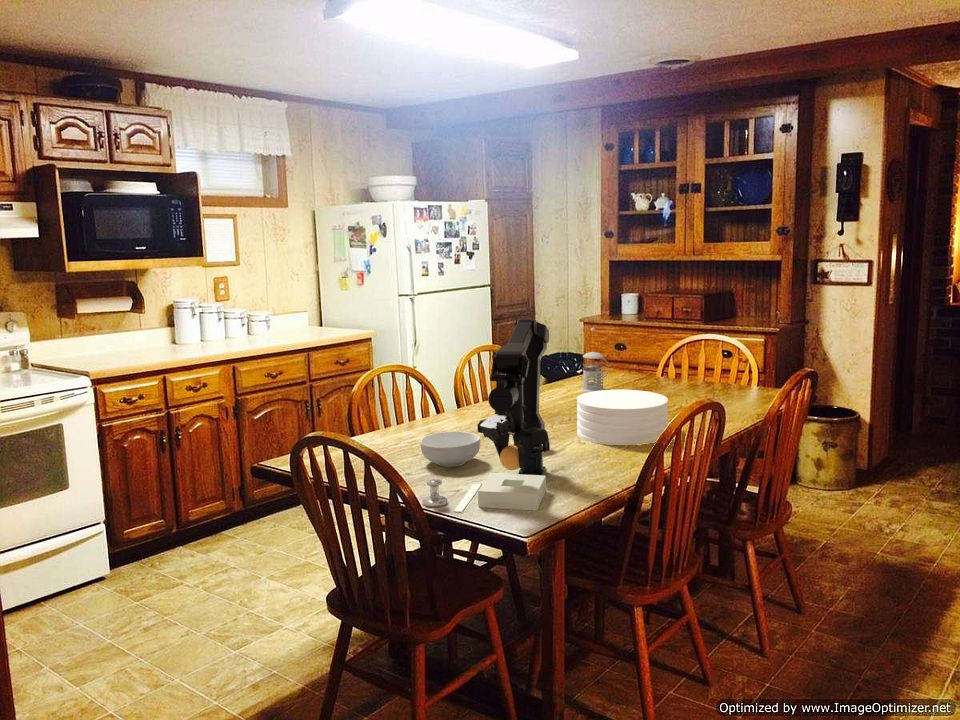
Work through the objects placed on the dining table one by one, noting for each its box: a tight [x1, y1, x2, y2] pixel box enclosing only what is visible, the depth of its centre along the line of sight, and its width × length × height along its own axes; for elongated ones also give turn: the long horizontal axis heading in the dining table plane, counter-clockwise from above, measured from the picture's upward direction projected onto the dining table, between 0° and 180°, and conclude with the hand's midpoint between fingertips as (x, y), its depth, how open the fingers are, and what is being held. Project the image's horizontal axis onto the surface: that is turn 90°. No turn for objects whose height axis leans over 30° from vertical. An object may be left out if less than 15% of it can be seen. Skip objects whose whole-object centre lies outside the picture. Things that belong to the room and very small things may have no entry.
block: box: [477, 472, 547, 511], centre depth 195 cm, size 14×14×4 cm
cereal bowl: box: [420, 431, 481, 468], centre depth 226 cm, size 17×17×7 cm
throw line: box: [453, 483, 482, 513], centre depth 197 cm, size 20×2×1 cm, turn 167°
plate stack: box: [576, 389, 669, 446], centre depth 252 cm, size 28×28×12 cm
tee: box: [421, 478, 448, 508], centre depth 193 cm, size 6×6×6 cm
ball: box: [499, 444, 521, 471], centre depth 194 cm, size 6×6×6 cm
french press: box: [580, 327, 610, 393], centre depth 317 cm, size 10×12×25 cm
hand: (512, 465), depth 194 cm, fingers closed on ball, 6 cm apart
